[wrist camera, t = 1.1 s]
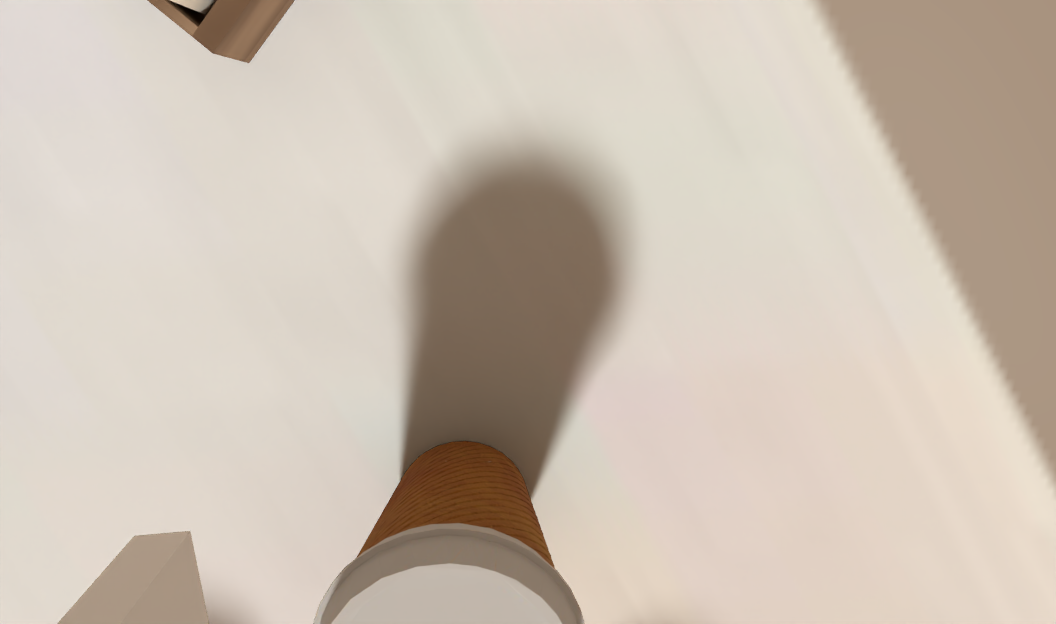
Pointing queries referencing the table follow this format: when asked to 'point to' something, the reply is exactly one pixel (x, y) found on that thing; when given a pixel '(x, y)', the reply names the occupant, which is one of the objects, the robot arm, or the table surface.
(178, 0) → the key one
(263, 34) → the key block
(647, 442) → the table surface
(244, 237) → the table surface
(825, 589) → the table surface
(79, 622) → the robot arm
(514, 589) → the disposable coffee cup
